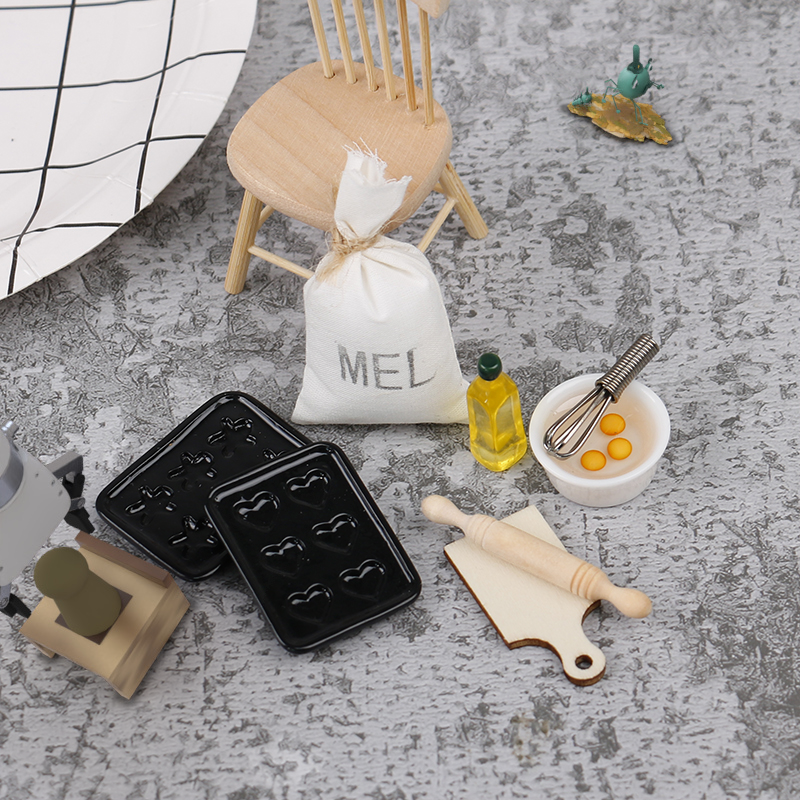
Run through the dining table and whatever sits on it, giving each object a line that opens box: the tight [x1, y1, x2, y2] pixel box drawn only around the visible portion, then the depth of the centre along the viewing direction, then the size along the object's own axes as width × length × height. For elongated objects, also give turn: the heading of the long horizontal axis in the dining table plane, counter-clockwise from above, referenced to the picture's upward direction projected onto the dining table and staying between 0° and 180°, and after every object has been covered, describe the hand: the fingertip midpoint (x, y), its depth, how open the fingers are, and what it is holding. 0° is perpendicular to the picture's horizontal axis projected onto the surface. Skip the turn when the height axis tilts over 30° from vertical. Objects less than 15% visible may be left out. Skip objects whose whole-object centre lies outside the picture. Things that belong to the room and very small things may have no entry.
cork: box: [32, 546, 121, 636], centre depth 96 cm, size 6×6×11 cm
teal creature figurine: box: [567, 43, 673, 145], centre depth 144 cm, size 10×18×15 cm, turn 49°
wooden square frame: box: [18, 530, 191, 700], centre depth 103 cm, size 12×12×9 cm
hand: (50, 567), depth 91 cm, fingers open, 9 cm apart
